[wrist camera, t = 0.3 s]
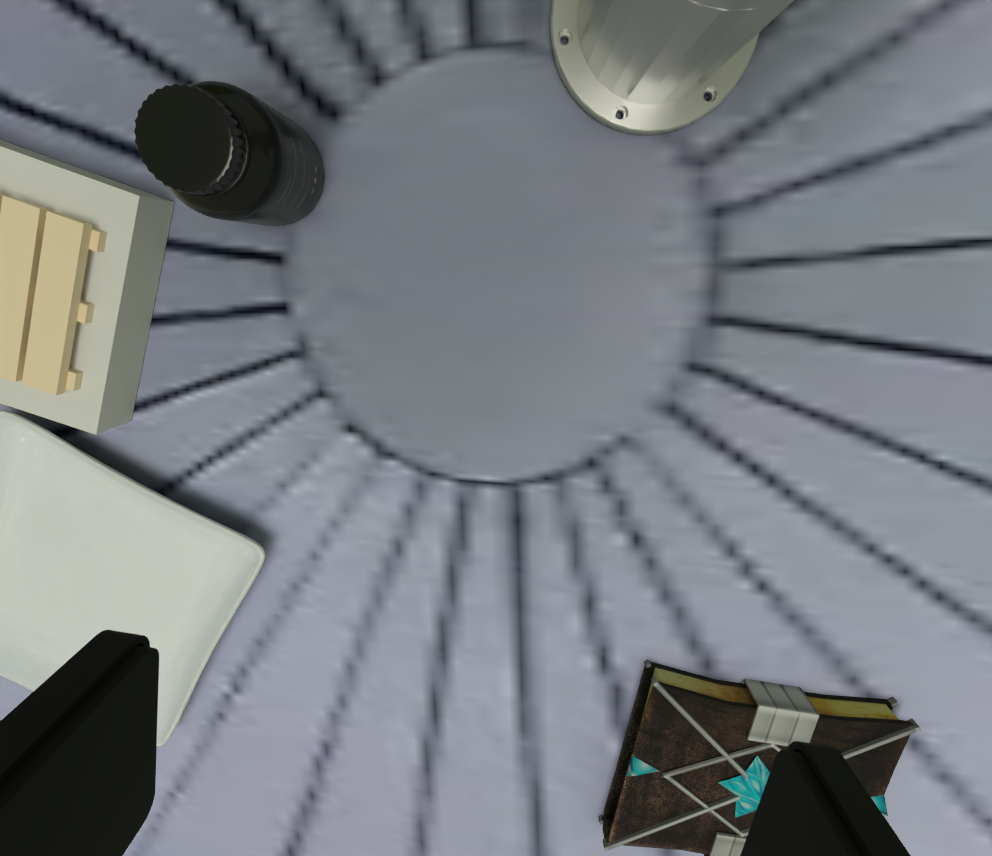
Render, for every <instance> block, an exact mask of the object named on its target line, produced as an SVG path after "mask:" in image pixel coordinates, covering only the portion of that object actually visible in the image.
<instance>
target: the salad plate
mask: <svg viewBox="0 0 992 856" xmlns="http://www.w3.org/2000/svg"><path fill="white" fill-rule="evenodd" d="M264 560H265V551H264V549H263V547H262V546H261V545H260V544H259V543H258V542H256V541H255V540H253V539H251V538H249V537H248V536H246V535H244V534H241V533H239V532H237V531H235V530H233V529H231V528H229V527H227V526H224V525H222V524H220V523H218V522H216V521H214V520H212V519H210V518H207V517H205V516H203V515H201V514H199V513H197V512H195V511H193V510H191V509H189V508H187V507H185V506H183V505H181V504H179V503H177V502H175V501H173V500H171V499H169V498H167V497H165V496H163V495H161V494H159V493H157V492H156V491H154V490H152V489H150V488H148V487H146V486H144V485H142V484H140V483H138V482H136V481H135V480H133V479H131V478H129V477H127V476H126V475H124V474H122V473H120V472H118V471H117V470H115V469H113V468H111V467H109V466H107V465H106V464H104V463H102V462H101V461H99V460H97V459H95V458H94V457H92V456H90V455H89V454H87V453H85V452H83V451H82V450H80V449H78V448H76V447H75V446H73V445H71V444H70V443H68V442H67V441H65V440H63V439H62V438H60V437H58V436H57V435H55V434H54V433H52V432H50V431H49V430H47V429H45V428H44V427H42V426H40V425H38V424H37V423H35V422H33V421H31V420H29V419H27V418H25V417H23V416H21V415H18V414H16V413H13V412H9V411H0V675H1V676H3V677H5V678H7V679H9V680H11V681H13V682H15V683H17V684H19V685H21V686H23V687H26V688H28V689H30V690H32V691H35V690H36V689H37V688H38V687H39V686H40V685H41V684H43V683H44V682H45V681H46V680H47V679H48V678H49V677H50V676H51V675H53V674H54V673H55V672H56V671H57V670H58V669H59V668H60V667H61V666H63V665H64V664H65V663H66V662H67V661H68V660H69V659H70V658H71V657H73V656H74V655H75V654H76V653H77V652H78V651H79V650H80V649H81V648H83V647H84V646H85V645H86V644H87V643H88V642H89V641H90V640H91V639H93V638H94V637H95V636H96V635H97V634H99V633H100V632H101V631H104V630H113V631H119V632H125V633H132V634H138V635H144V636H146V637H148V639H149V642H150V647H151V648H156V649H157V650H158V652H159V681H158V713H157V744H156V747H160V746H163V745H164V744H165V743H166V742H167V741H168V740H169V739H170V737H171V735H172V734H173V732H174V730H175V728H176V726H177V724H178V722H179V720H180V718H181V716H182V714H183V711H184V709H185V707H186V705H187V703H188V701H189V698H190V696H191V694H192V692H193V690H194V688H195V686H196V683H197V681H198V679H199V677H200V675H201V673H202V671H203V669H204V668H205V666H206V664H207V662H208V660H209V658H210V656H211V654H212V652H213V650H214V649H215V647H216V645H217V643H218V641H219V640H220V638H221V636H222V635H223V633H224V631H225V629H226V628H227V626H228V624H229V622H230V621H231V619H232V617H233V616H234V614H235V612H236V611H237V609H238V607H239V606H240V604H241V602H242V601H243V599H244V597H245V596H246V594H247V592H248V590H249V589H250V587H251V585H252V584H253V582H254V580H255V579H256V577H257V575H258V573H259V571H260V569H261V567H262V565H263V563H264Z"/></svg>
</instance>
